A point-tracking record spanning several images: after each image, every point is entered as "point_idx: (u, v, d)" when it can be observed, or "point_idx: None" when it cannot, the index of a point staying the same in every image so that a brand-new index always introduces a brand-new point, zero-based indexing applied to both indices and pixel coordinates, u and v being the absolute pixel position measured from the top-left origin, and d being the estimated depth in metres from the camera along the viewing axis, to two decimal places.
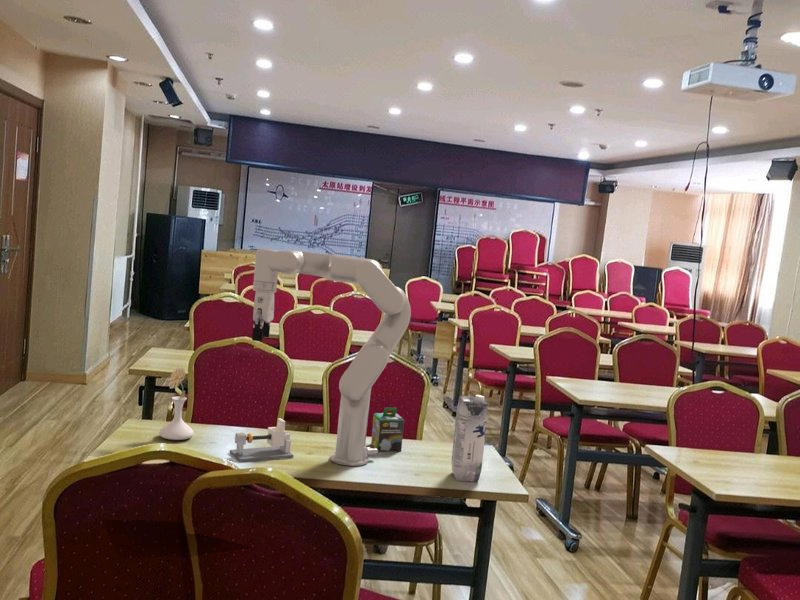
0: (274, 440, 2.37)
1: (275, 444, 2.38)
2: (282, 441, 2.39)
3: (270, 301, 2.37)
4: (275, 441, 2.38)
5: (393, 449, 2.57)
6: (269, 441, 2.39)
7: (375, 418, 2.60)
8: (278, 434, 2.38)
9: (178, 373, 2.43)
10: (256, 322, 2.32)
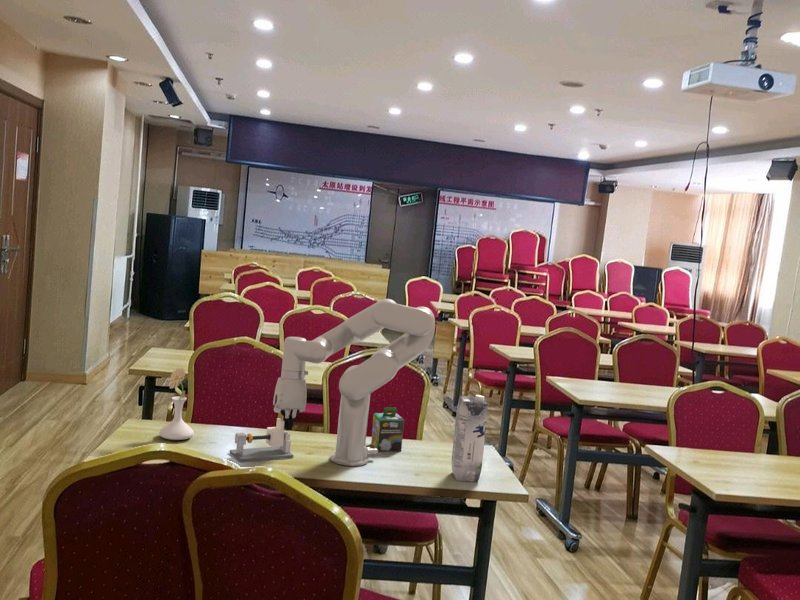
0: (273, 440, 2.37)
1: (274, 444, 2.37)
2: (281, 441, 2.39)
3: None
4: (274, 441, 2.37)
5: (393, 449, 2.57)
6: (268, 441, 2.39)
7: (375, 418, 2.60)
8: (277, 434, 2.38)
9: (178, 373, 2.43)
10: None
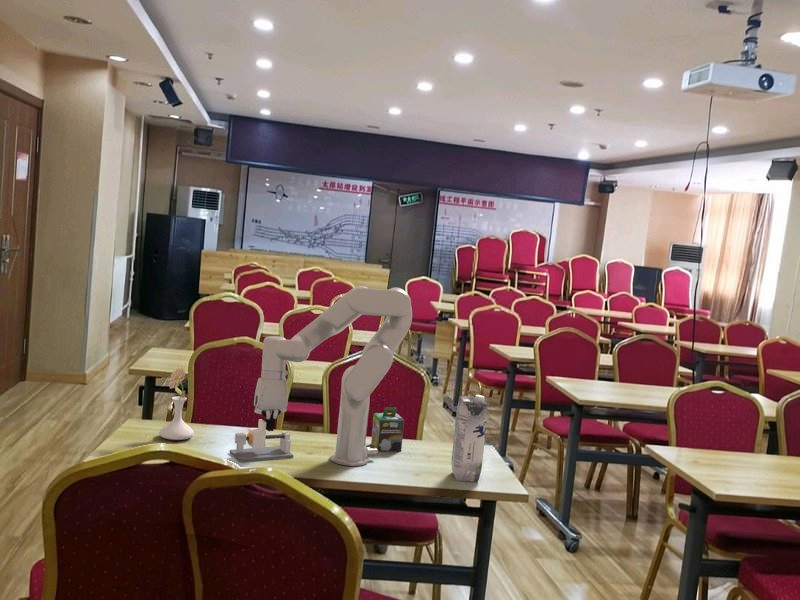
0: (255, 441, 2.34)
1: (256, 445, 2.34)
2: (263, 443, 2.35)
3: None
4: (256, 442, 2.34)
5: (393, 449, 2.57)
6: None
7: (375, 418, 2.60)
8: (259, 435, 2.34)
9: (178, 373, 2.43)
10: None
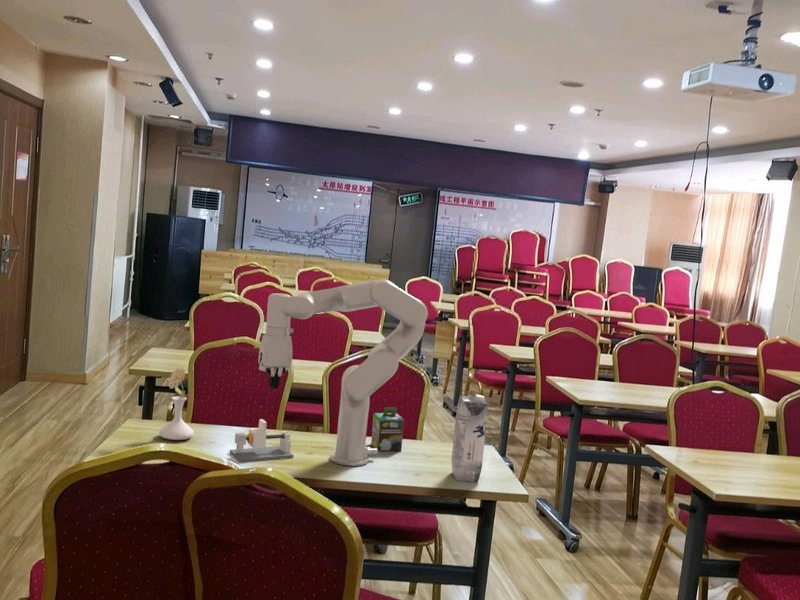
0: (255, 441, 2.34)
1: (256, 445, 2.34)
2: (264, 443, 2.35)
3: None
4: (256, 442, 2.34)
5: (393, 449, 2.57)
6: None
7: (375, 418, 2.60)
8: (259, 435, 2.34)
9: (178, 373, 2.43)
10: None
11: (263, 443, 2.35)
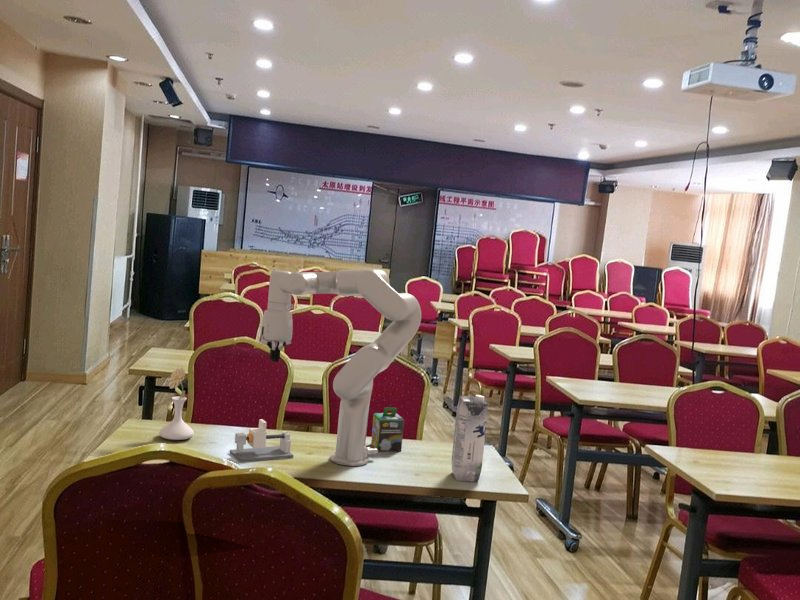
0: (255, 441, 2.34)
1: (256, 445, 2.34)
2: (264, 443, 2.35)
3: None
4: (256, 442, 2.34)
5: (393, 449, 2.57)
6: None
7: (375, 418, 2.60)
8: (259, 435, 2.34)
9: (178, 373, 2.43)
10: None
11: (263, 443, 2.35)
